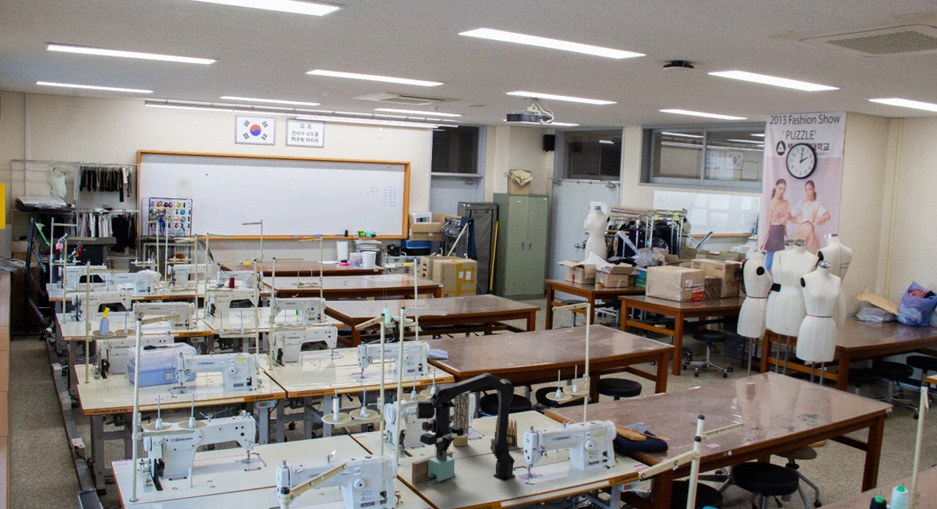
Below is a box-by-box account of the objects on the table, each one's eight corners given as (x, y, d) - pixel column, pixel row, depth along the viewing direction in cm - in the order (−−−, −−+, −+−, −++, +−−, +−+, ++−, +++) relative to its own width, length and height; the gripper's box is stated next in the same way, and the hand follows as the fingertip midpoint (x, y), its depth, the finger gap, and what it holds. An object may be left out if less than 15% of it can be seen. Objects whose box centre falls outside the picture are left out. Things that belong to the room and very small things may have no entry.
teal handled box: (454, 475, 315) (454, 450, 314) (439, 481, 310) (439, 455, 309) (442, 471, 320) (443, 445, 319) (428, 476, 314) (428, 450, 313)
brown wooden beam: (459, 474, 322) (460, 455, 321) (422, 487, 308) (423, 467, 307) (448, 469, 326) (449, 450, 325) (411, 482, 312) (412, 462, 311)
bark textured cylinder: (466, 447, 352) (467, 392, 349) (451, 446, 353) (452, 391, 350) (469, 442, 358) (470, 388, 355) (454, 440, 360) (456, 387, 357)
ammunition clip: (494, 442, 360) (495, 416, 358) (496, 441, 361) (496, 415, 360) (515, 447, 354) (516, 421, 353) (517, 445, 356) (518, 419, 355)
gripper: (445, 408, 324) (445, 444, 326) (411, 417, 311) (410, 455, 313) (465, 414, 316) (463, 452, 318) (430, 424, 303) (429, 464, 305)
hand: (441, 455), depth 314 cm, fingers closed on teal handled box
